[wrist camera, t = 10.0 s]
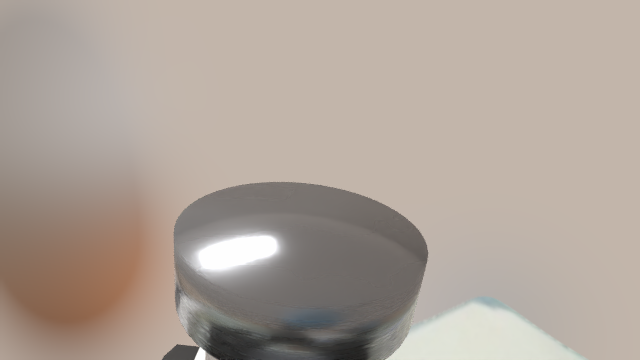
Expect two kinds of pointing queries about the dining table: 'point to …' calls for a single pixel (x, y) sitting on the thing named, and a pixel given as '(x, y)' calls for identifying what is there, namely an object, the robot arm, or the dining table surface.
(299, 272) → the lock pin
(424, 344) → the dining table surface
